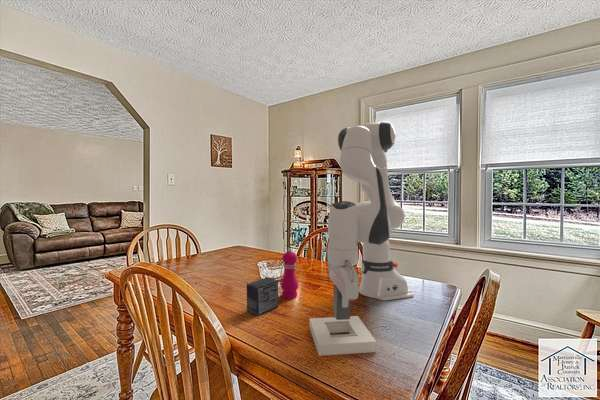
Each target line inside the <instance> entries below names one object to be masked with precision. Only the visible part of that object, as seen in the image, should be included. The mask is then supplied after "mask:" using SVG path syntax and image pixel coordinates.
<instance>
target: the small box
mask: <svg viewBox="0 0 600 400" xmlns="http://www.w3.org/2000/svg"><path fill="white" fill-rule="evenodd" d="M278 282H279V279H275V278H271V277H264V278H261V279H258V280H254V281H252V282H248V283H246V312H247V313H249V314H251V315H254V316H257V317H259V316H263V315H264V314H266V313H268V312H270V311H273V310H275V309H277V308H279V289H278V288H279V286H278V285H279V283H278Z"/></svg>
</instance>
